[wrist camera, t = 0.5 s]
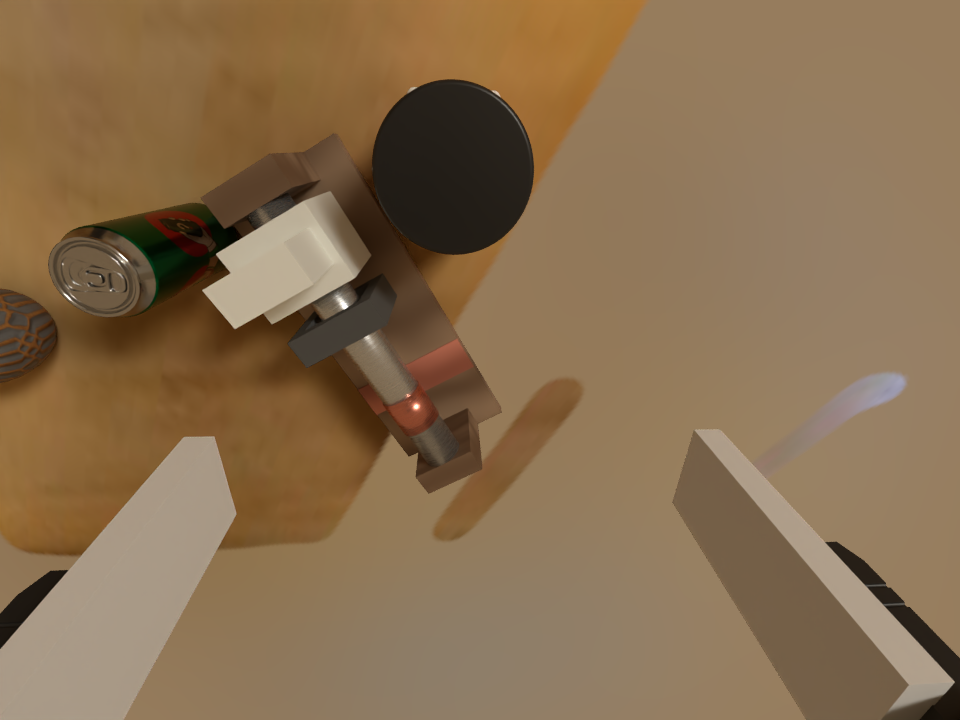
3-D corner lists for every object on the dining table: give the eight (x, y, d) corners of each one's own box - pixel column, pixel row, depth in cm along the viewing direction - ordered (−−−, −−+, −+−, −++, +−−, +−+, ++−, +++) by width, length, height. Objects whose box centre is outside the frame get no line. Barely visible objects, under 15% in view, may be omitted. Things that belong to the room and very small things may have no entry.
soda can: (168, 195, 33) (29, 219, 22) (241, 209, 33) (141, 240, 23) (173, 262, 35) (49, 315, 24) (241, 275, 36) (150, 331, 25)
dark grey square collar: (313, 311, 34) (287, 343, 29) (382, 272, 33) (369, 298, 28) (329, 332, 35) (306, 368, 29) (397, 295, 34) (386, 325, 28)
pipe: (246, 200, 29) (224, 206, 26) (286, 175, 29) (268, 178, 26) (433, 457, 39) (431, 482, 36) (465, 441, 38) (466, 465, 36)
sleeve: (257, 234, 32) (173, 273, 22) (330, 190, 31) (275, 211, 21) (301, 294, 34) (242, 354, 24) (371, 255, 33) (339, 300, 23)
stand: (224, 204, 33) (167, 219, 26) (336, 133, 32) (306, 130, 25) (409, 450, 44) (402, 505, 37) (500, 406, 42) (510, 456, 36)
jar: (394, 221, 34) (368, 255, 24) (388, 99, 31) (355, 74, 20) (509, 223, 35) (535, 258, 24) (516, 104, 32) (551, 82, 21)
